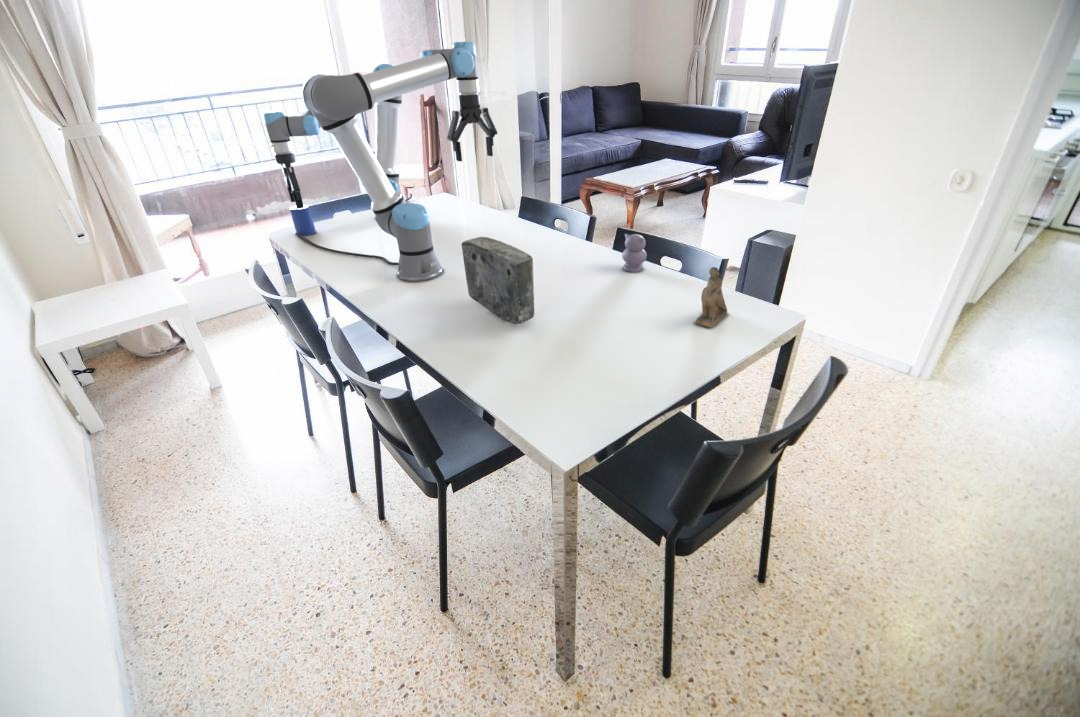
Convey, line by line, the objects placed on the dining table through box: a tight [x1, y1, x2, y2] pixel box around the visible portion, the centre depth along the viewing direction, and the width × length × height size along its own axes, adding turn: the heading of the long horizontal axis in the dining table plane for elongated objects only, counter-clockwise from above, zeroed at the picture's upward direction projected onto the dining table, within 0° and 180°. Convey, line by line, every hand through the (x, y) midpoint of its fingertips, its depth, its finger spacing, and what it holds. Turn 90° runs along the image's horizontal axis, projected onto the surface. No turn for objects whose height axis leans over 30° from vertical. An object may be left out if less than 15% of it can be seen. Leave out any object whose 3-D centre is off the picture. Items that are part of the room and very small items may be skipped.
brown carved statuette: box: [695, 266, 728, 328], centre depth 135 cm, size 12×6×18 cm, turn 136°
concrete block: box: [461, 236, 535, 325], centre depth 141 cm, size 27×9×20 cm, turn 36°
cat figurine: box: [621, 233, 648, 273], centre depth 170 cm, size 8×8×12 cm
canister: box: [288, 204, 317, 237], centre depth 220 cm, size 8×8×12 cm
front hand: (475, 158), depth 185 cm, fingers open, 13 cm apart
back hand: (297, 204), depth 217 cm, fingers open, 13 cm apart
